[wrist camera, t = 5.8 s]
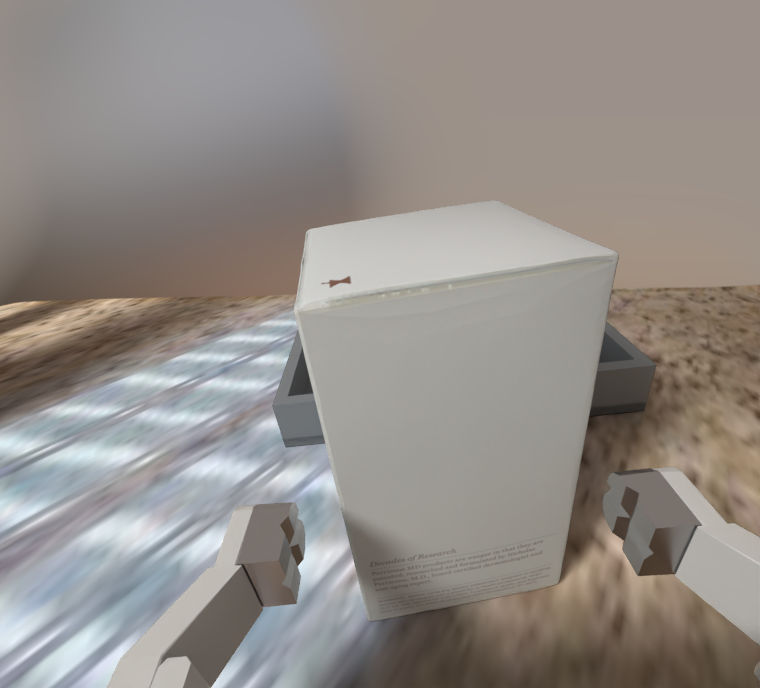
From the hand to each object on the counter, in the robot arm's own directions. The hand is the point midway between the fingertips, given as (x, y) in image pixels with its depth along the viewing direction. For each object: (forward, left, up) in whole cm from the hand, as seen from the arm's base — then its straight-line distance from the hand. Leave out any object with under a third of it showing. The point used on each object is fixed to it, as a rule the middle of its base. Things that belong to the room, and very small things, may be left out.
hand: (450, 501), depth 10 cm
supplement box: (0, +4, -7) cm, 8 cm away
